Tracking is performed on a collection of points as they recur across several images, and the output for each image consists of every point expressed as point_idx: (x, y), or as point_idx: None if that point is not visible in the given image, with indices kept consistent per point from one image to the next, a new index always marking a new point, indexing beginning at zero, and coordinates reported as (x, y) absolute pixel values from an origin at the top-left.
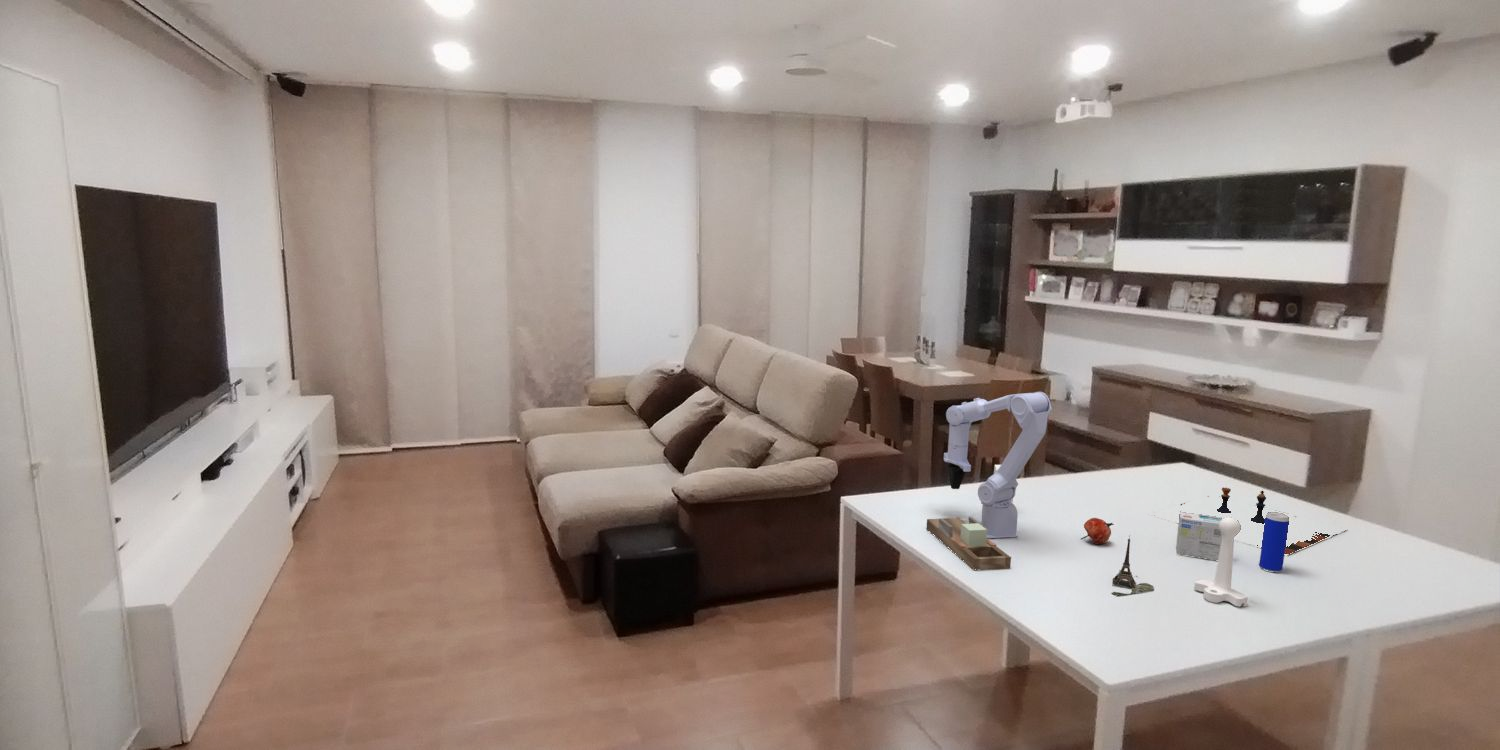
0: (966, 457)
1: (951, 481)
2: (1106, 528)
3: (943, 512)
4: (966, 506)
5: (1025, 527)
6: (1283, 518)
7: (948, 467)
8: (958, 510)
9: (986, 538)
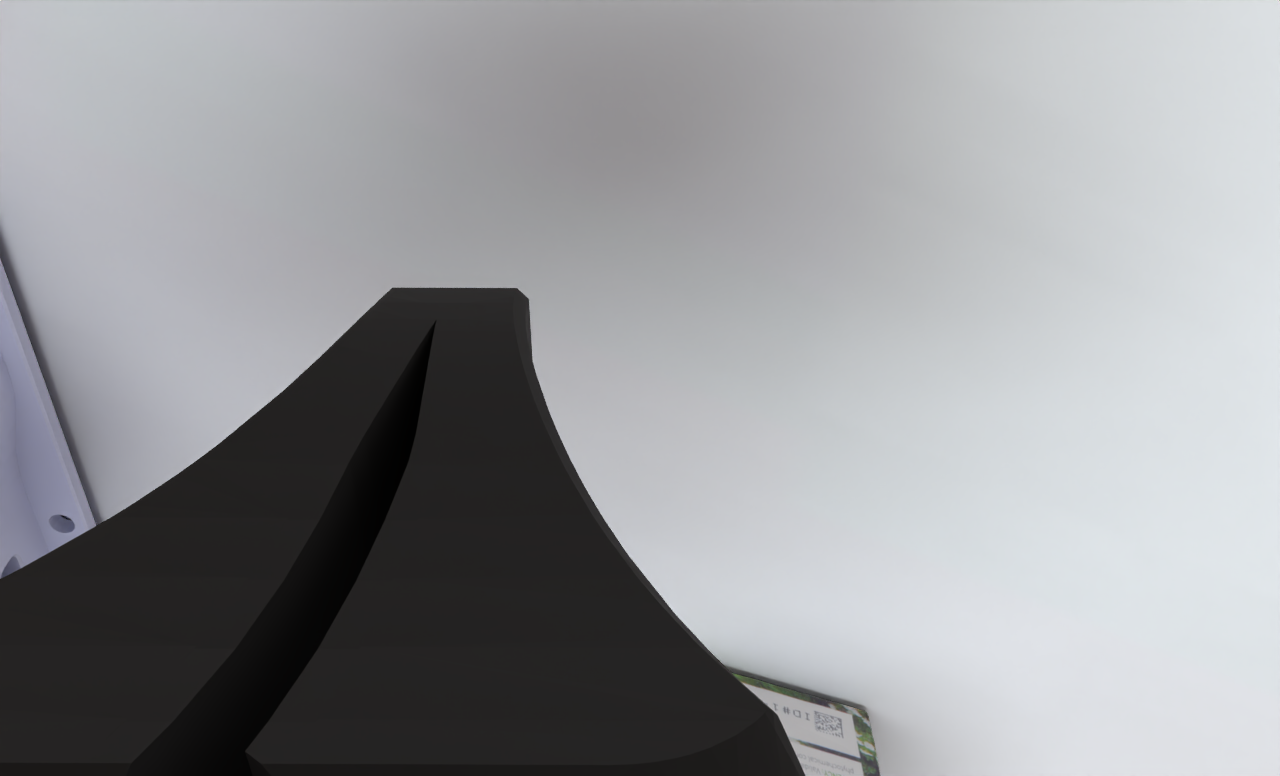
0: None
1: (371, 385)
2: None
3: (870, 17)
4: (1034, 482)
5: None
6: None
7: (70, 764)
8: (901, 308)
9: None
